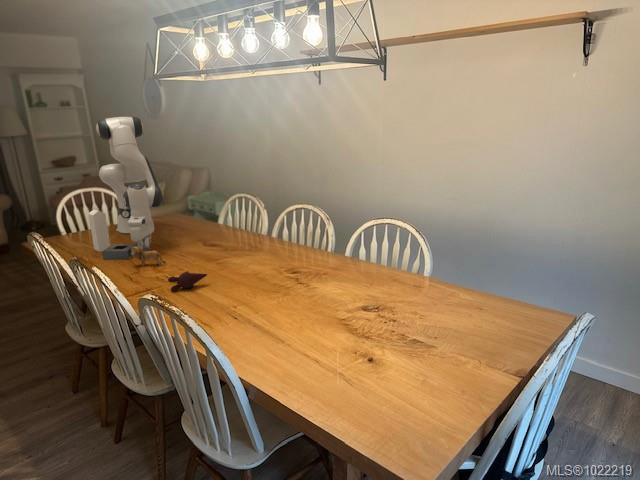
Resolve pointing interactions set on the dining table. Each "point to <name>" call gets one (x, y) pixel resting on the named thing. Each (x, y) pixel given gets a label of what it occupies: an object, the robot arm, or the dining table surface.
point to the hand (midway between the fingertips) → (145, 245)
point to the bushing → (146, 243)
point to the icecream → (186, 280)
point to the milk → (99, 229)
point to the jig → (118, 251)
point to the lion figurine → (146, 255)
